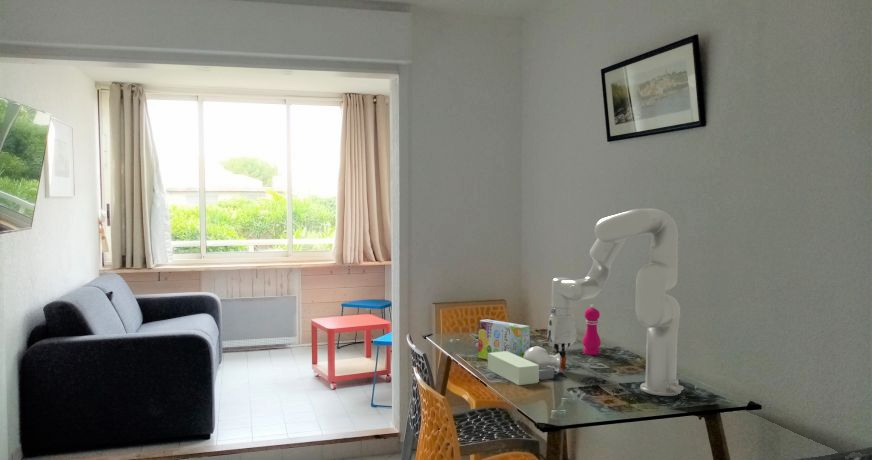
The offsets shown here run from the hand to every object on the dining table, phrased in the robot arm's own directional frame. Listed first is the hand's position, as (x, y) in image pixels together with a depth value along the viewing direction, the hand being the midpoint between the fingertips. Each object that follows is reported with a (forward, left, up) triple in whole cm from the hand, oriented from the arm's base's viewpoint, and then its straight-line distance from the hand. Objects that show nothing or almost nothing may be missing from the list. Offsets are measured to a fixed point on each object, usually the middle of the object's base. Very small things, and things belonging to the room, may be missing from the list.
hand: (560, 361), depth 234 cm
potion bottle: (0, +7, -3) cm, 8 cm away
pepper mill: (+17, -27, -3) cm, 32 cm away
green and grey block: (0, +16, -3) cm, 17 cm away
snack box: (+19, +13, -4) cm, 23 cm away
